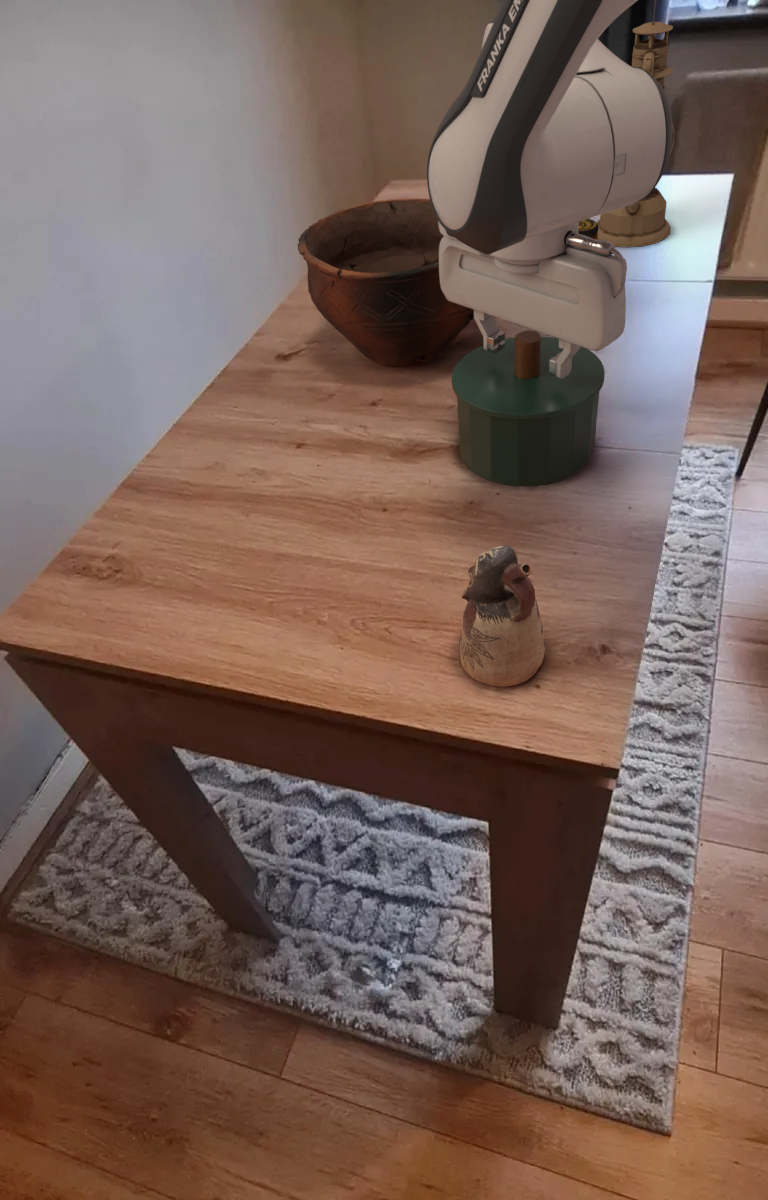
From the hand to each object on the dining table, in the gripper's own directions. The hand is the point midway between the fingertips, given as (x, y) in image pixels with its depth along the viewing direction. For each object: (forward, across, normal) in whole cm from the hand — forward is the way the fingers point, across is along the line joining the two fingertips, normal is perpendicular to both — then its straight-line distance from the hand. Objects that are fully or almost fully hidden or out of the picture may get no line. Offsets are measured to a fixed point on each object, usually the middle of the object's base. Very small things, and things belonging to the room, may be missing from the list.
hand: (526, 361), depth 81 cm
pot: (+10, 0, 0) cm, 10 cm away
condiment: (+11, +14, -27) cm, 32 cm away
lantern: (+10, +24, -55) cm, 61 cm away
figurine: (+11, -18, +25) cm, 33 cm away
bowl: (+11, +28, -9) cm, 31 cm away
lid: (+2, 0, 0) cm, 2 cm away
